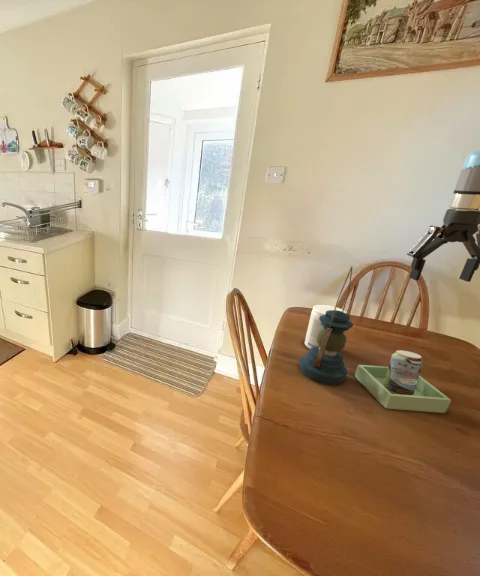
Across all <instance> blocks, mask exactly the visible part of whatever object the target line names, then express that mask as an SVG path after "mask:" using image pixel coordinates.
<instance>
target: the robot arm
mask: <svg viewBox="0 0 480 576" xmlns="http://www.w3.org/2000/svg"><path fill="white" fill-rule="evenodd" d="M442 223H443V225H442V226H435V225H430V226H429V227H427V230H426V231H425V233H424V235H423V236H421V238H420V239H419V240H418V241H417V242H416V243H415V244H414V245H413V246H412V247H411V248H410V250H408V251H407V252H406V254H407V256H409V257H410V258H411V257H412V261H411V264H410V269H411V270H410V273H409V276H408V277H409V279H412V280H414V281H420V277H421V275H422V273H423V269H424V266H425V264H426V261H427V259H425V258H427V257H428V256H429V255H431V254H432V253H433V252H435V251H436V250H438V249H439V248H441V247H443V245H445V244H448V243H462V244H463V246H464V247H465V249H466V251H467V252H468V254H469V256H470V257H471V258H470V257H469V258H468V257H467V259H466V261H465V264H464V266H463V268H462V271H461V272H460V276H459V280H462V281H464V282H469V283H470V282H471V281H472V278H473V276H474V275H475V272H476V271H478V270H479V268H480V150H474V151H472V152H470V153H468V155H467V156H466V159H465V161H464V164H463V166H462V168H461V170H460V173H459V176H458V179H457V180H456V184H455V187H454V190H453V192H452V195H451V197H450V201H449V203H448V209H446V211H445V214H444V216H443V219H442ZM474 235H475V236H474ZM475 237H476V238H475Z"/></svg>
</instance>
